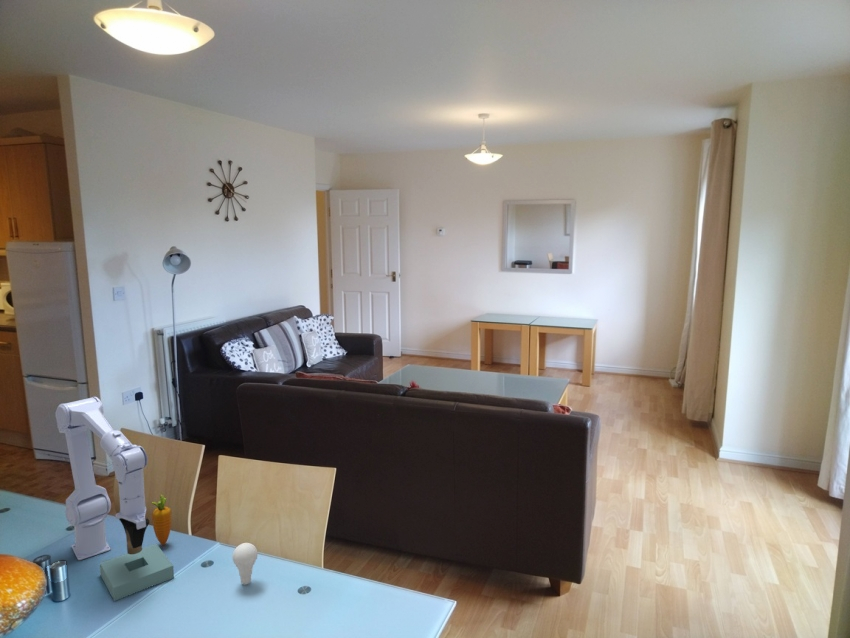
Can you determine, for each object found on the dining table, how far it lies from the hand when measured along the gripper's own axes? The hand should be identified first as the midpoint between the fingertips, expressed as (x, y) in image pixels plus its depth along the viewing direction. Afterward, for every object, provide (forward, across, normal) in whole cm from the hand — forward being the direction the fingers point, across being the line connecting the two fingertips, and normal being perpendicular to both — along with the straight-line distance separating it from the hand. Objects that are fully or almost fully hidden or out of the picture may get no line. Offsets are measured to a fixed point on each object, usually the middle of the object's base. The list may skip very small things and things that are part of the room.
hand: (135, 543), depth 141 cm
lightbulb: (+10, +22, +20) cm, 31 cm away
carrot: (+10, -11, +10) cm, 18 cm away
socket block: (+9, 0, 0) cm, 9 cm away
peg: (+2, 0, 0) cm, 2 cm away
